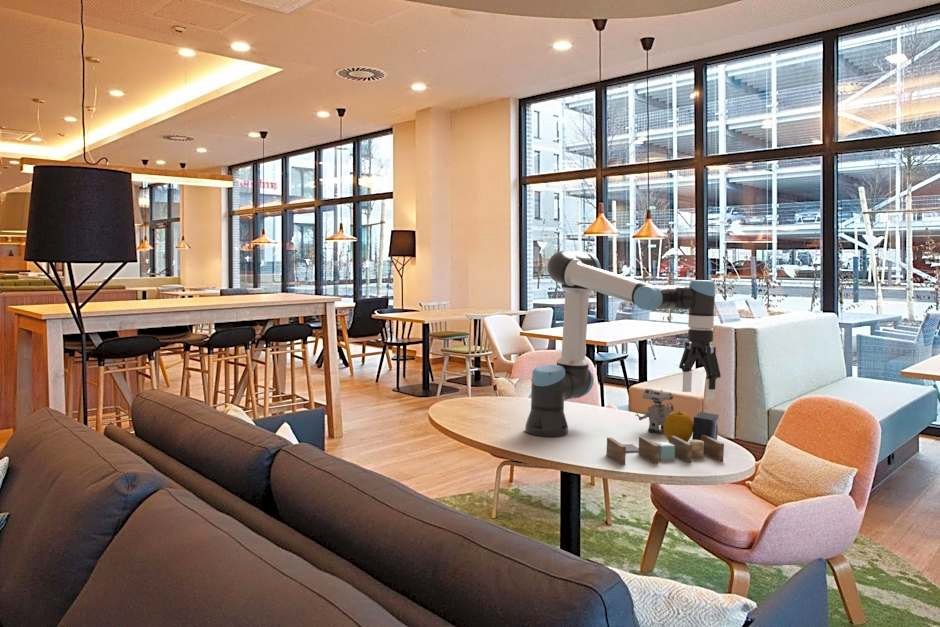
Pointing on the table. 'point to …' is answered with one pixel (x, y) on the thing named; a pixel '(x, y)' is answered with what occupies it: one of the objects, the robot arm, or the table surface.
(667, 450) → the letter cube
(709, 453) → the divider rack
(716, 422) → the small box
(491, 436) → the table surface
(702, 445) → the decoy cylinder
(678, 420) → the apple
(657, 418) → the figurine
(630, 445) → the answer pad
